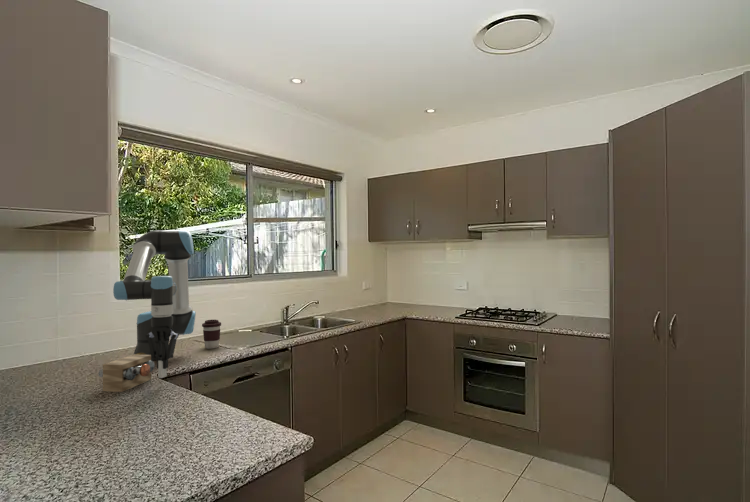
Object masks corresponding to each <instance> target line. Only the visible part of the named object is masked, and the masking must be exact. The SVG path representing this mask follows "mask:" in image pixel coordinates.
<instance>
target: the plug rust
mask: <svg viewBox="0 0 750 502" xmlns="http://www.w3.org/2000/svg"><path fill="white" fill-rule="evenodd" d="M133 368H135V369H136V374H140V375H141V376H147V375H148V374H149V372H150V366H149V365H148V364H143V365H142V366H133Z"/></svg>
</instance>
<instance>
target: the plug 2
mask: <svg viewBox="0 0 750 502" xmlns="http://www.w3.org/2000/svg"><path fill="white" fill-rule="evenodd" d="M143 364H148V365H149V366H150V372H151V373H152V372H153V371H154V369H155V365H156V364H155V362H154V360H152V361H147V362H146V363H143ZM150 372H149V373H150Z"/></svg>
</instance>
